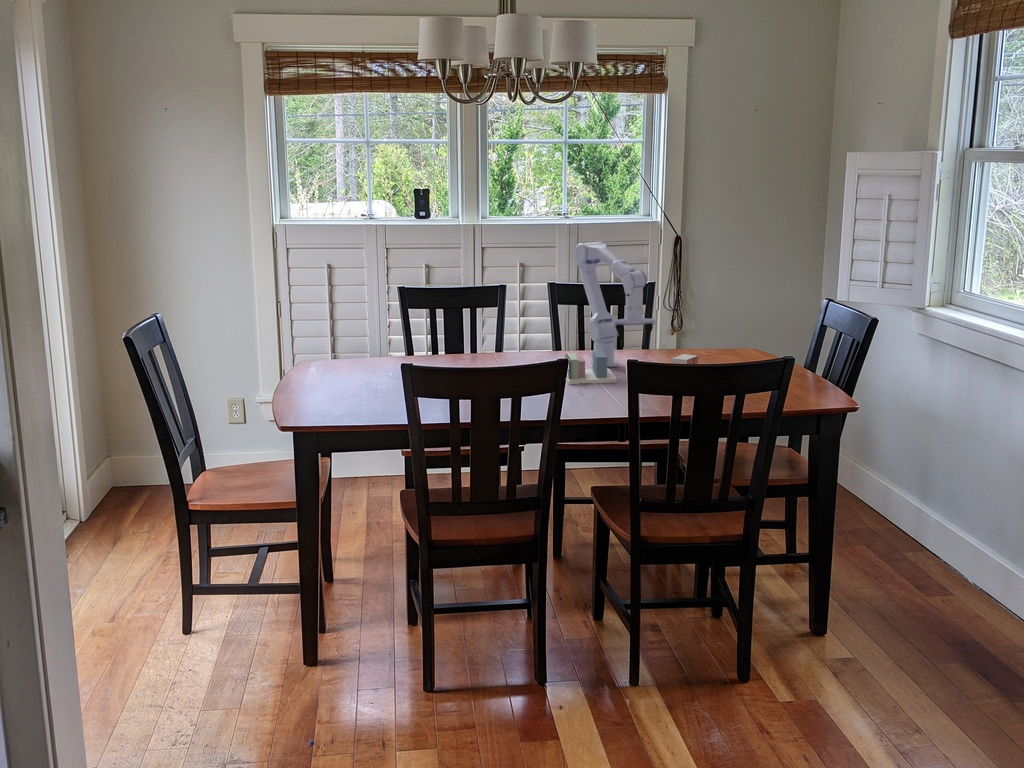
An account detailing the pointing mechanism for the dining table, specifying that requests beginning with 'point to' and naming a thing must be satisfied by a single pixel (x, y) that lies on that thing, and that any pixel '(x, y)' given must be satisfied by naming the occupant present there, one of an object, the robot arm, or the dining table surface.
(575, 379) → the shelf board
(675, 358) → the small box
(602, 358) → the slate book
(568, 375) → the bookend
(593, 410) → the dining table surface
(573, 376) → the books
